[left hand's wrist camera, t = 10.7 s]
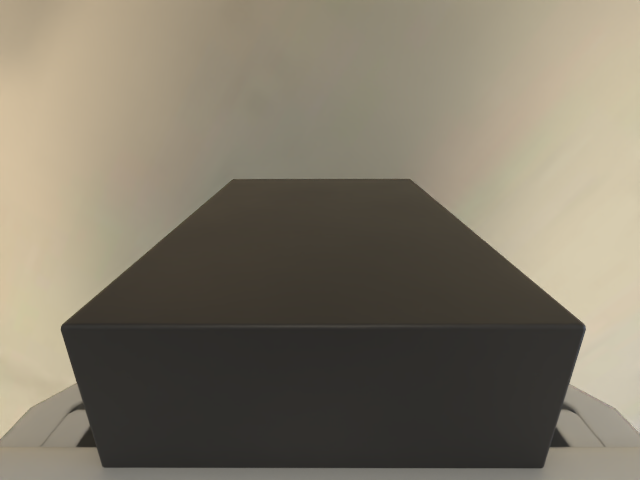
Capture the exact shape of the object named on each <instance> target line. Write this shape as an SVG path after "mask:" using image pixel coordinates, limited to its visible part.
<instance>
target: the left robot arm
mask: <svg viewBox="0 0 640 480" xmlns="http://www.w3.org/2000/svg"><path fill="white" fill-rule="evenodd" d="M0 480H640V434H639V433H638V432H637V430H636V429H635V428H634V427H633V426H632V425H631V424H630V423H629V422H628V421H627V420H626V419H625V418H624V417H623V416H622V415H621V414H620V413H619V412H618V411H617V410H616V409H615V408H613V407H612V406H610V405H608V404H606V403H604V402H602V401H600V400H598V399H597V398H595V397H593V396H591V395H589V394H587V393H585V392H583V391H581V390H580V389H578V388H576V387H574V386H572V385H570V384H569V386H568V389H567V392H566V396H565V399H564V402H563V405H562V409H561V412H560V415H559V418H558V422H557V425H556V428H555V432H554V435H553V438H552V441H551V445H550V448H549V451H548V454H547V458H546V461H545V464H544V467H543V468H104V467H102V464H101V461H100V457H99V454H98V451H97V447H96V444H95V441H94V437H93V434H92V431H91V428H90V424H89V421H88V418H87V414H86V411H85V408H84V404H83V401H82V398H81V395H80V391H79V388H78V385H77V383H76V384H74V385H72V386H70V387H69V388H67V389H65V390H63V391H61V392H59V393H57V394H55V395H54V396H52V397H50V398H48V399H46V400H44V401H42V402H41V403H39V404H37V405H35V406H33V407H31V408H30V409H29V410H28V411H27V412H26V413H25V414H24V415H23V416H22V417H21V418H20V419H19V420H18V421H17V423H16V424H15V425H14V426H13V427H12V428H11V429H10V430H9V431H8V432H7V433H6V434H5V435H4V436H3V437H2V438H1V439H0Z"/></svg>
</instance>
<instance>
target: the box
mask: <svg viewBox="0 0 640 480" xmlns="http://www.w3.org/2000/svg"><path fill="white" fill-rule="evenodd" d="M585 330H586V328H585V325H584V324H583V323H582V322H581V321H580V320H579V319H577V318H576V317H575V316H574V315H573V314H571V313H570V312H569V311H568V310H567V309H565V308H564V307H563V306H562V305H561V304H559V303H558V302H557V301H556V300H555V299H553V298H552V297H551V296H550V295H549V294H547V293H546V292H545V291H544V290H543V289H541V288H540V287H539V286H538V285H537V284H535V283H534V282H533V281H532V280H531V279H529V278H528V277H527V276H526V275H525V274H523V273H522V272H521V271H520V270H519V269H517V268H516V267H515V266H514V265H513V264H511V263H510V262H509V261H508V260H507V259H505V258H504V257H503V256H502V255H501V254H499V253H498V252H497V251H496V250H495V249H493V248H492V247H491V246H490V245H489V244H487V243H486V242H485V241H484V240H483V239H481V238H480V237H479V236H478V235H477V234H475V233H474V232H473V231H472V230H471V229H469V228H468V227H467V226H466V225H465V224H463V223H462V222H461V221H460V220H459V219H457V218H456V217H455V216H454V215H453V214H451V213H450V212H449V211H448V210H447V209H445V208H444V207H443V206H442V205H441V204H439V203H438V202H437V201H436V200H435V199H433V198H432V197H431V196H430V195H429V194H427V193H426V192H425V191H424V190H423V189H421V188H420V187H419V186H418V185H417V184H415V183H414V182H413V181H412V180H411V179H233V180H232V181H230V182H229V183H228V184H227V185H226V186H225V187H223V188H222V189H221V190H220V191H219V192H218V193H216V194H215V195H214V196H213V197H212V198H210V199H209V200H208V201H207V202H206V203H205V204H203V205H202V206H201V207H200V208H199V209H198V210H196V211H195V212H194V213H193V214H192V215H190V216H189V217H188V218H187V219H186V220H185V221H183V222H182V223H181V224H180V225H179V226H178V227H176V228H175V229H174V230H173V231H172V232H171V233H169V234H168V235H167V236H166V237H165V238H163V239H162V240H161V241H160V242H159V243H158V244H156V245H155V246H154V247H153V248H152V249H151V250H149V251H148V252H147V253H146V254H145V255H143V256H142V257H141V258H140V259H139V260H138V261H136V262H135V263H134V264H133V265H132V266H131V267H129V268H128V269H127V270H126V271H125V272H124V273H122V274H121V275H120V276H119V277H118V278H116V279H115V280H114V281H113V282H112V283H111V284H109V285H108V286H107V287H106V288H105V289H104V290H102V291H101V292H100V293H99V294H98V295H96V296H95V297H94V298H93V299H92V300H91V301H89V302H88V303H87V304H86V305H85V306H84V307H82V308H81V309H80V310H79V311H78V312H76V313H75V314H74V315H73V316H72V317H71V318H69V319H68V320H67V321H66V322H65V323H64V324H62V326H61V332H62V335H63V338H64V342H65V345H66V348H67V352H68V355H69V358H70V362H71V365H72V368H73V371H74V375H75V378H76V381H77V385H78V388H79V391H80V395H81V398H82V401H83V404H84V408H85V411H86V414H87V418H88V421H89V424H90V428H91V431H92V434H93V437H94V441H95V444H96V447H97V451H98V454H99V457H100V461H101V464H102V467H104V468H543V467H544V464H545V461H546V458H547V454H548V451H549V448H550V445H551V441H552V438H553V435H554V432H555V428H556V425H557V422H558V418H559V415H560V412H561V409H562V405H563V402H564V399H565V396H566V392H567V389H568V386H569V383H570V379H571V376H572V373H573V369H574V366H575V363H576V360H577V356H578V353H579V350H580V347H581V343H582V340H583V337H584V333H585Z"/></svg>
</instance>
